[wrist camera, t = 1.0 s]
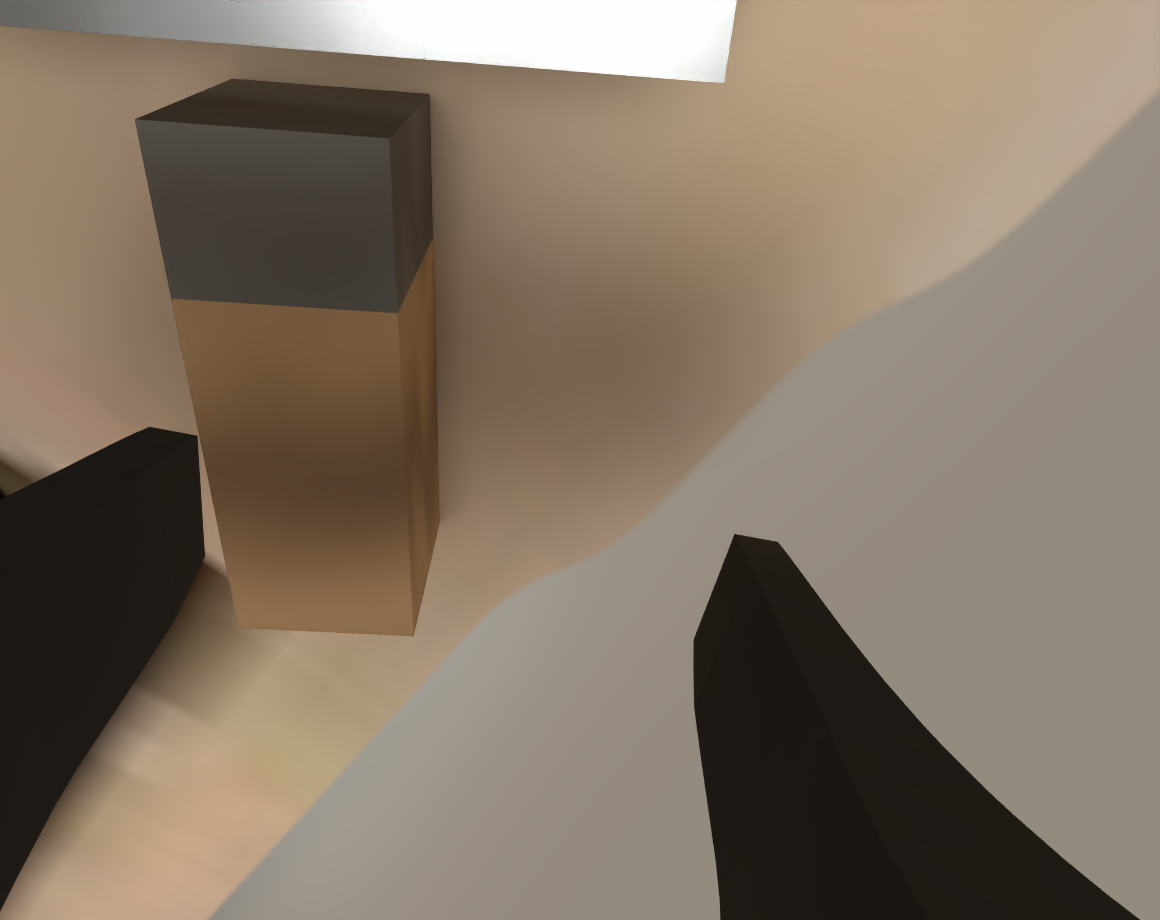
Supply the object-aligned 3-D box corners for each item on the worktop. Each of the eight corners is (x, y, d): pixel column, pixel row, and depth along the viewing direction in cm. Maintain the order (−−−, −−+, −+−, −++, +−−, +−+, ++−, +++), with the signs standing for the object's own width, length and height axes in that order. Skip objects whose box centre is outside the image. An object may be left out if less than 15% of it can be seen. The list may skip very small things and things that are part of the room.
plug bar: (439, 522, 23) (413, 636, 19) (293, 514, 23) (238, 627, 19) (429, 94, 17) (388, 138, 13) (231, 78, 17) (135, 119, 13)
